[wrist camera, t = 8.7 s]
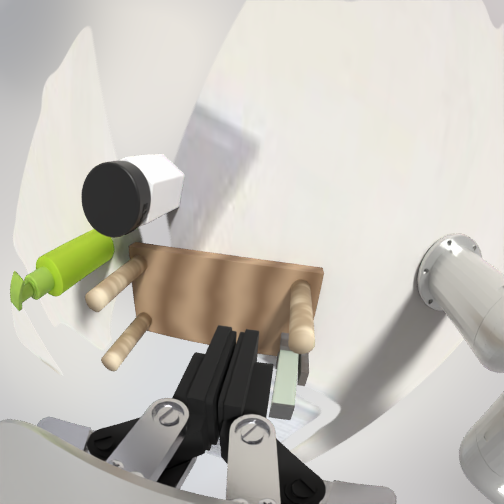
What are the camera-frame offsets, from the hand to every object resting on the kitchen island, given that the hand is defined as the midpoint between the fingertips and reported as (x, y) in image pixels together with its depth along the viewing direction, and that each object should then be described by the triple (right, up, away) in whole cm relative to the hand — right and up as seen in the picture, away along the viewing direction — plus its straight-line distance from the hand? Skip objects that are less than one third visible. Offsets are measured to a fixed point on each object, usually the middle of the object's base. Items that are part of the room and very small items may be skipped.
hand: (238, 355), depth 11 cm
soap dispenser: (-24, +6, +31) cm, 40 cm away
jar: (-13, +14, +26) cm, 32 cm away
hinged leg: (+4, -12, +23) cm, 26 cm away
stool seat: (-4, -3, +31) cm, 31 cm away
